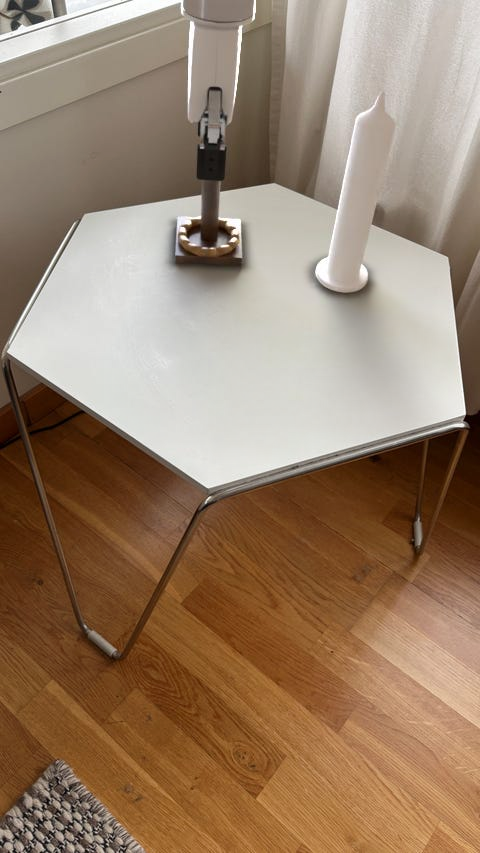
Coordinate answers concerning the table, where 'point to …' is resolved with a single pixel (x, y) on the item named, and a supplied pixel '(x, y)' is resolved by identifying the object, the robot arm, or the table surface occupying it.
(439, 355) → the table surface
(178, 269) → the table surface
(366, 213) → the candle
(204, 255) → the ring
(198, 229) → the post
